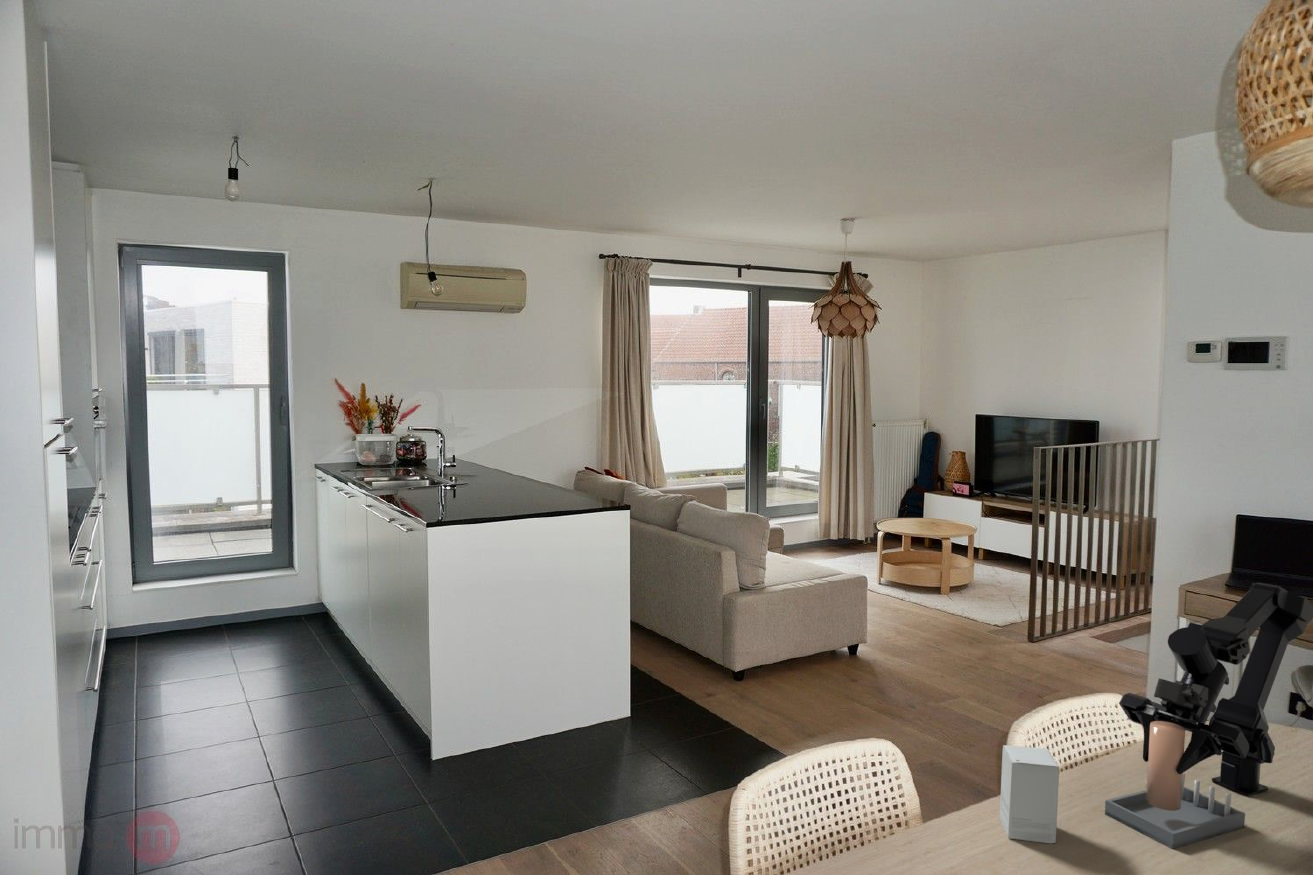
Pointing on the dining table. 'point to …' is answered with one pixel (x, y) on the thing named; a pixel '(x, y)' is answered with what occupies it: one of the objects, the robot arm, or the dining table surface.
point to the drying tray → (1177, 816)
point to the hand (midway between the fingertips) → (1161, 766)
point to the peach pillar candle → (1165, 765)
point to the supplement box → (1029, 794)
